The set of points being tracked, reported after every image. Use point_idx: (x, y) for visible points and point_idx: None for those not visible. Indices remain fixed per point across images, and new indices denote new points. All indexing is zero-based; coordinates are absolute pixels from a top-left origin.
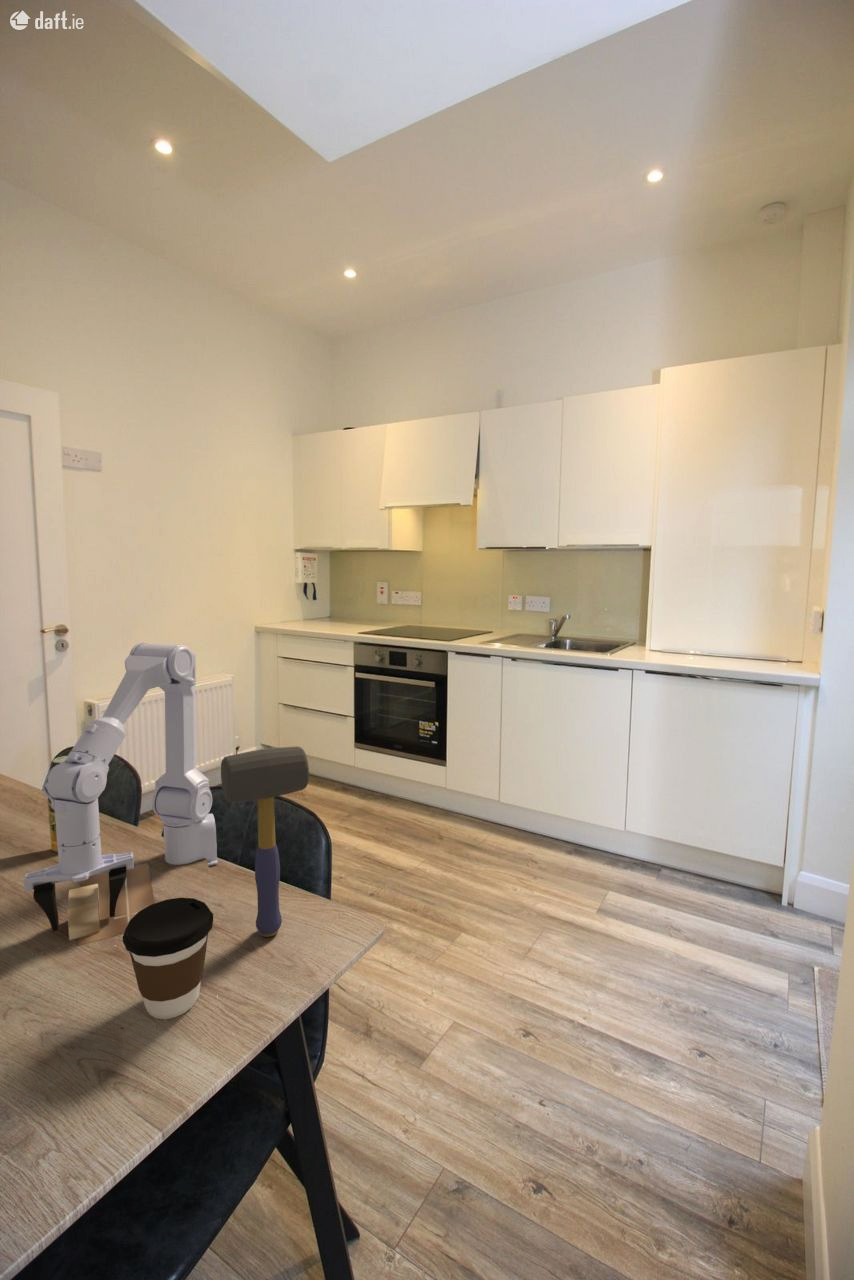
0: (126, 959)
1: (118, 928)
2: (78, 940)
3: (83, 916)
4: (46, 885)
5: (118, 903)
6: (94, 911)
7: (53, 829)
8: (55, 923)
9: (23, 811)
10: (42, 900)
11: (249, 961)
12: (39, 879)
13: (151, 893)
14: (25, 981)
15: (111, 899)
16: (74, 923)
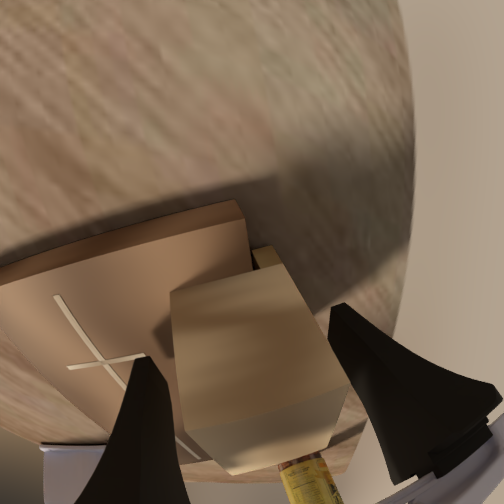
0: (26, 129)
1: (99, 302)
2: (245, 254)
3: (249, 353)
4: (457, 461)
5: None
6: (196, 378)
7: (331, 486)
8: (353, 324)
9: (340, 466)
10: (473, 396)
11: None
12: (498, 473)
13: (93, 418)
14: (383, 100)
15: (135, 430)
16: (284, 319)
